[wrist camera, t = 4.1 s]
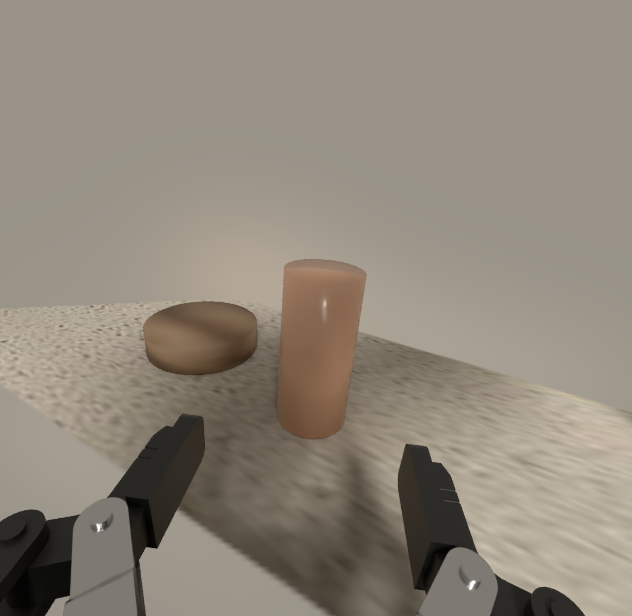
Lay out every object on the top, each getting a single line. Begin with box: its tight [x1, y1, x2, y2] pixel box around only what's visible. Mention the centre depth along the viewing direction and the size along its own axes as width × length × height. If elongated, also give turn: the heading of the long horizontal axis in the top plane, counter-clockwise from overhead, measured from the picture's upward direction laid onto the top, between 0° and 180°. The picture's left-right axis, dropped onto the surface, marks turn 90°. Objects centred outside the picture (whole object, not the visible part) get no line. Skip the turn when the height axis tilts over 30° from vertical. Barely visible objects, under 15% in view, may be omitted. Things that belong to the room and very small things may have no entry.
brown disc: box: [143, 302, 257, 375], centre depth 31 cm, size 10×10×2 cm
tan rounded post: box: [277, 259, 366, 439], centre depth 22 cm, size 5×5×11 cm
